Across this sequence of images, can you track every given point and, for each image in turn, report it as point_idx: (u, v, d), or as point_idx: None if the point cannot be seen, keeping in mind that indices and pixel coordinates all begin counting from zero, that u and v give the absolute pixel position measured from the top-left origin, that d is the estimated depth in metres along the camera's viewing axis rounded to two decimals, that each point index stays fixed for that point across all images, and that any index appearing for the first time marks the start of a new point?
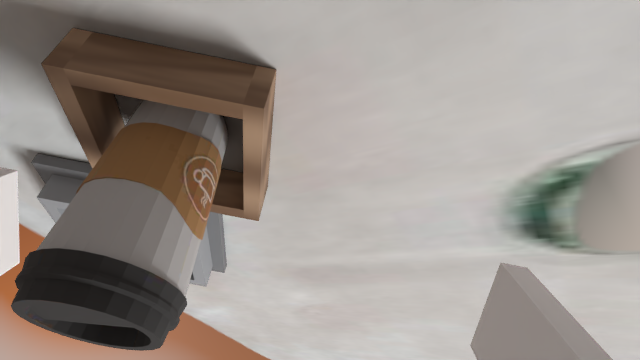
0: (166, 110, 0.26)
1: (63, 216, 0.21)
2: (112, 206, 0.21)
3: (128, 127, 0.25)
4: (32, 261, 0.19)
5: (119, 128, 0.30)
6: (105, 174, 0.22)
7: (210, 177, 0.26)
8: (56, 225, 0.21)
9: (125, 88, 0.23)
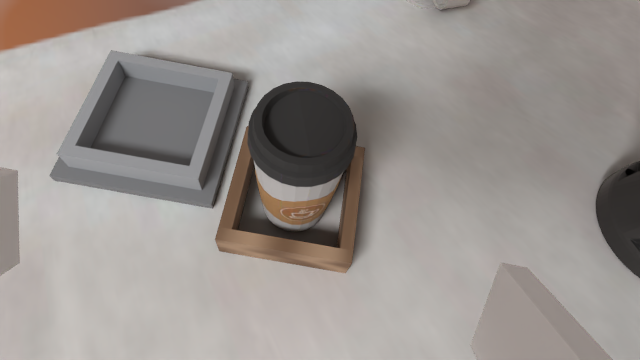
0: None
1: None
2: None
3: None
4: None
5: None
6: None
7: (303, 217, 0.36)
8: None
9: (354, 184, 0.41)
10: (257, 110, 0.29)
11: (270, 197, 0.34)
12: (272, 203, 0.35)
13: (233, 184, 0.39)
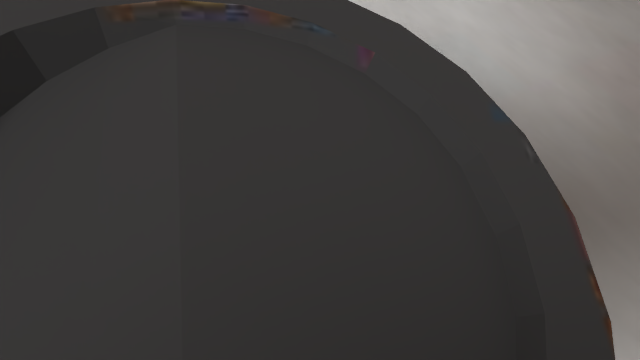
0: None
1: None
2: None
3: None
4: None
5: None
6: None
7: None
8: None
9: None
10: None
11: None
12: None
13: None
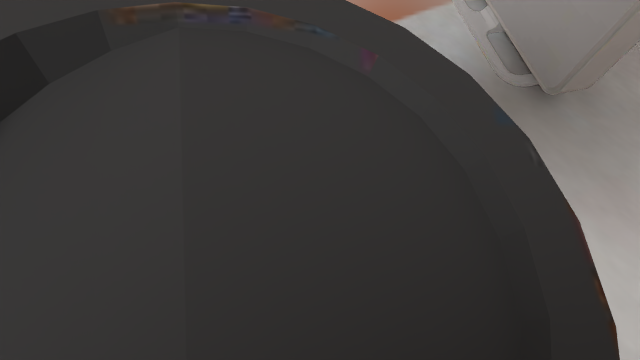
0: None
1: None
2: None
3: None
4: None
5: None
6: None
7: None
8: None
9: None
10: None
11: None
12: None
13: None
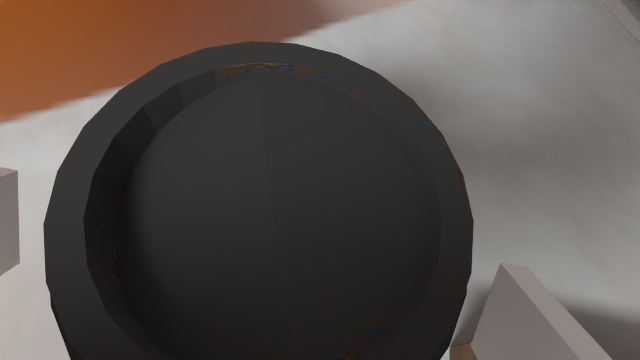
0: None
1: None
2: None
3: None
4: None
5: None
6: None
7: None
8: None
9: None
10: (77, 152, 0.07)
11: None
12: None
13: None
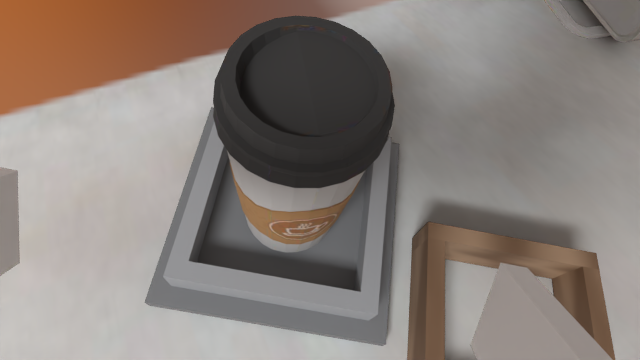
0: None
1: None
2: None
3: None
4: None
5: (474, 261, 0.31)
6: None
7: (304, 234, 0.24)
8: None
9: (599, 316, 0.27)
10: (228, 58, 0.17)
11: (253, 205, 0.22)
12: (257, 214, 0.23)
13: (430, 321, 0.26)
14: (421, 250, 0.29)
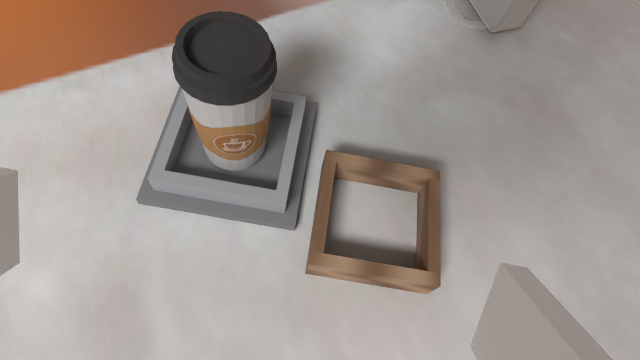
0: (265, 139, 0.43)
1: None
2: (271, 93, 0.36)
3: None
4: None
5: (362, 180, 0.46)
6: None
7: (236, 149, 0.39)
8: None
9: (434, 208, 0.42)
10: (179, 34, 0.32)
11: (201, 126, 0.36)
12: (204, 133, 0.37)
13: (320, 208, 0.40)
14: (322, 169, 0.44)
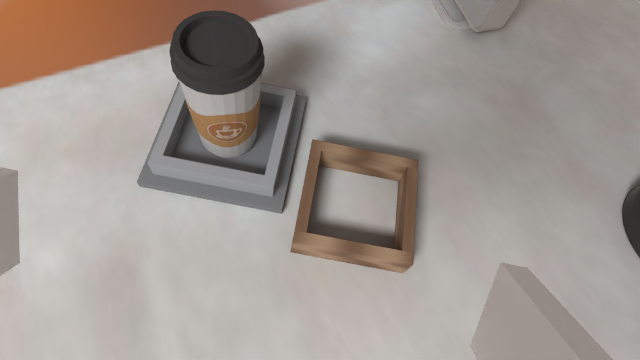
0: (256, 129, 0.47)
1: None
2: None
3: None
4: None
5: (346, 168, 0.49)
6: (259, 88, 0.42)
7: (228, 136, 0.42)
8: None
9: (411, 194, 0.45)
10: (176, 30, 0.35)
11: (196, 114, 0.40)
12: (199, 121, 0.41)
13: (304, 192, 0.44)
14: None
